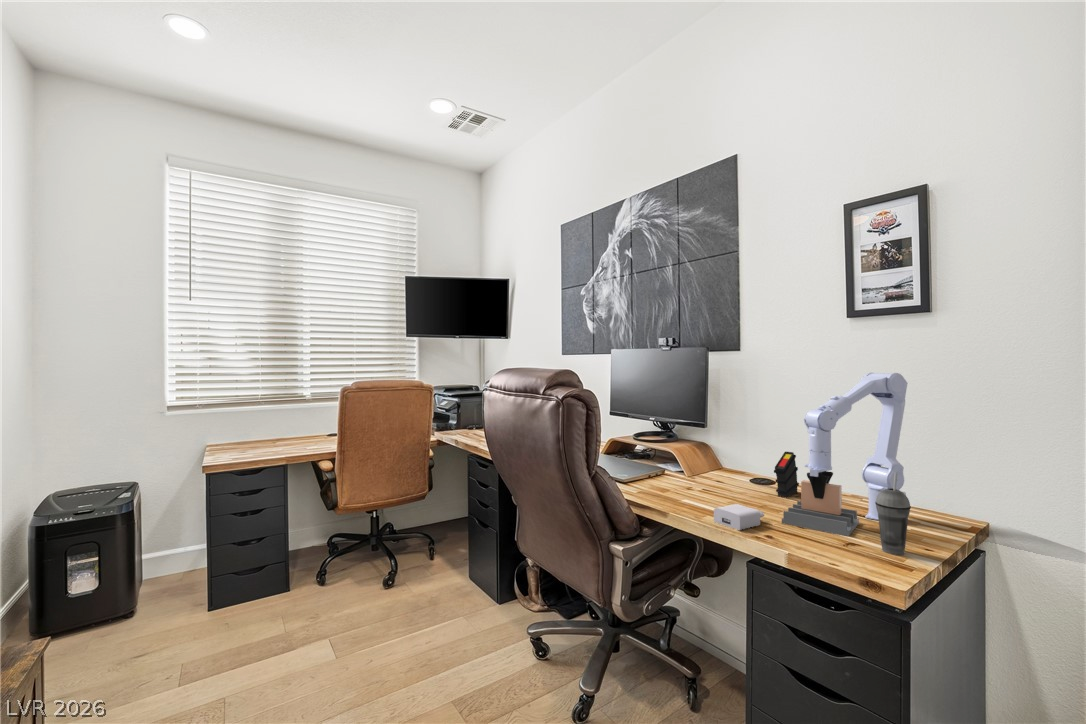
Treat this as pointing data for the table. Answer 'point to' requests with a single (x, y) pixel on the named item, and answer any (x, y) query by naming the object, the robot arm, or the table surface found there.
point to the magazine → (786, 475)
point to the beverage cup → (893, 519)
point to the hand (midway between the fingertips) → (820, 497)
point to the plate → (827, 504)
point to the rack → (821, 520)
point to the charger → (737, 516)
